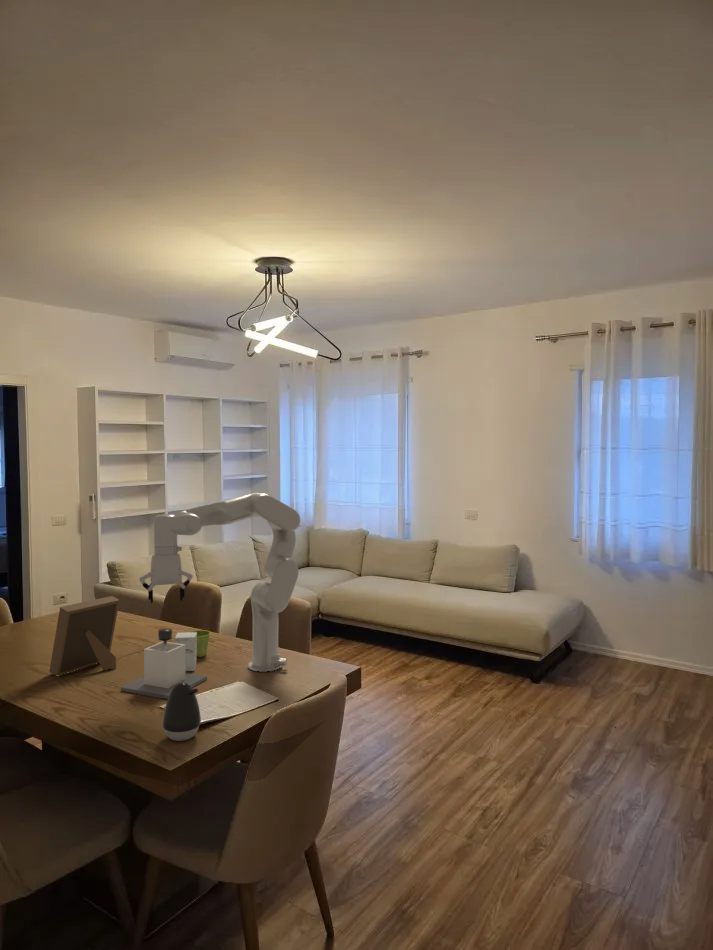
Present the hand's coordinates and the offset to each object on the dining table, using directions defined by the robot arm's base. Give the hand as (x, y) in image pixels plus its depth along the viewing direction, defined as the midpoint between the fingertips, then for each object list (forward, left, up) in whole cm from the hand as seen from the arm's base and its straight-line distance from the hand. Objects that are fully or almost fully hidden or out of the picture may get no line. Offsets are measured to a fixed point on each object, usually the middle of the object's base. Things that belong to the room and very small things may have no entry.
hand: (166, 600), depth 214 cm
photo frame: (+35, -2, -29) cm, 46 cm away
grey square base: (0, 0, -29) cm, 29 cm away
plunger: (0, 0, -27) cm, 27 cm away
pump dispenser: (-30, +31, -29) cm, 52 cm away
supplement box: (+4, -17, -29) cm, 34 cm away
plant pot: (+9, -32, -29) cm, 44 cm away
